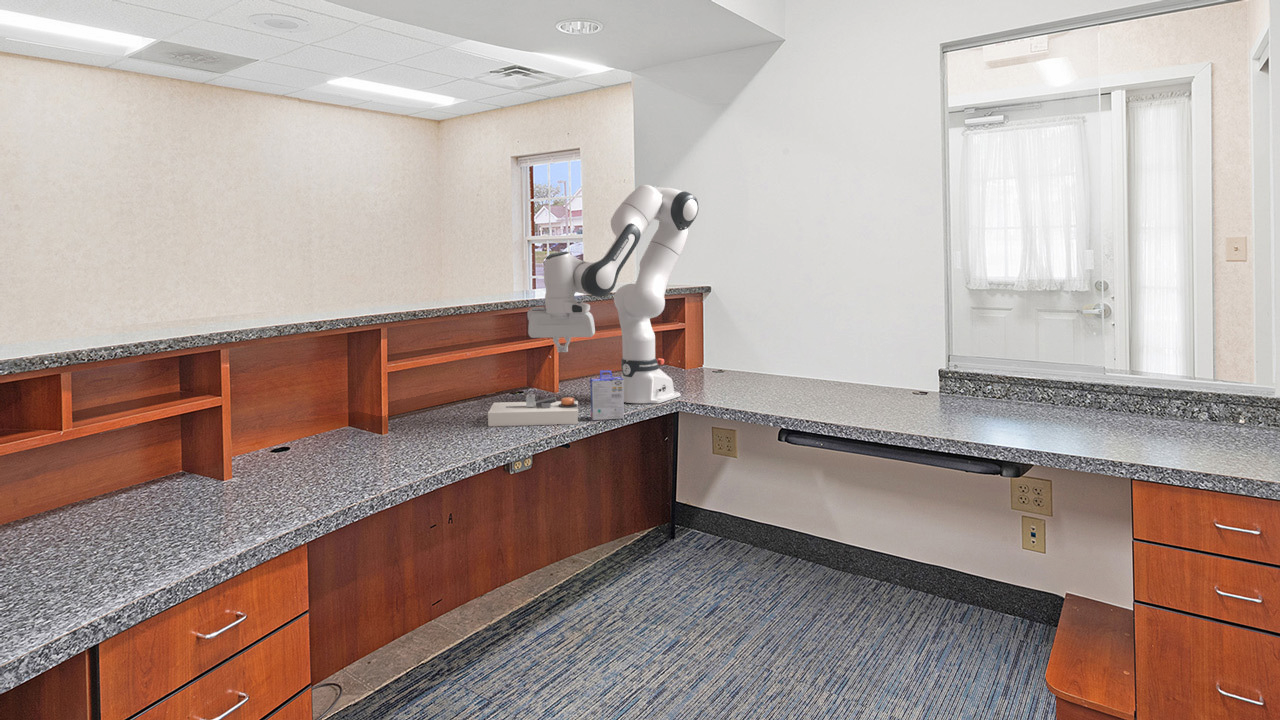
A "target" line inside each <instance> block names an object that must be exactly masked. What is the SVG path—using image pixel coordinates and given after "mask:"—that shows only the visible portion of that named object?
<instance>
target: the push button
mask: <svg viewBox="0 0 1280 720" xmlns="http://www.w3.org/2000/svg"><path fill="white" fill-rule="evenodd" d="M560 401H561V405H573V404H574V401H575V397H570V396H568V397H561V398H560Z"/></svg>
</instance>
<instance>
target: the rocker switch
mask: <svg viewBox="0 0 1280 720" xmlns="http://www.w3.org/2000/svg"><path fill="white" fill-rule="evenodd" d="M556 401H557V396H551V397H547V398H543V399H539V400H535V402H536V407H537V406H541V405H542V403H554V402H556Z"/></svg>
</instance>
